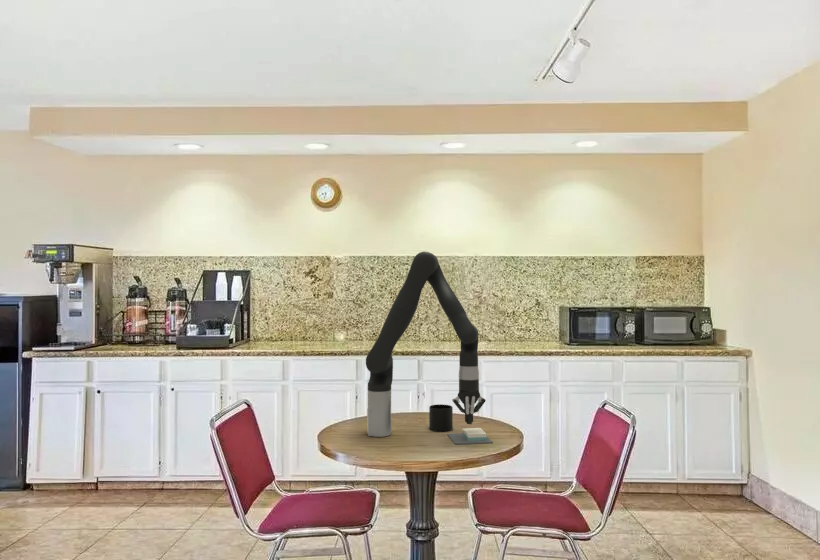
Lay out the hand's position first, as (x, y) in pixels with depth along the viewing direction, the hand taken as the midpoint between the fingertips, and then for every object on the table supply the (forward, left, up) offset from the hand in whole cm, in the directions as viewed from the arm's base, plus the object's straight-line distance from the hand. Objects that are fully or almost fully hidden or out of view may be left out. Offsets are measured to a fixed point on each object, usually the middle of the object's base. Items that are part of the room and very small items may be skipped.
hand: (469, 423), depth 209 cm
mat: (0, 0, -6) cm, 6 cm away
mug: (-8, +18, -6) cm, 21 cm away
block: (-2, 0, -4) cm, 4 cm away
